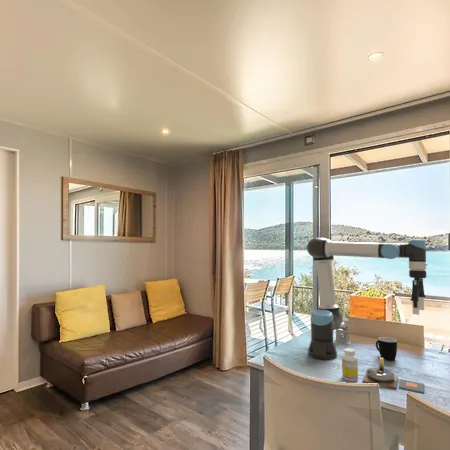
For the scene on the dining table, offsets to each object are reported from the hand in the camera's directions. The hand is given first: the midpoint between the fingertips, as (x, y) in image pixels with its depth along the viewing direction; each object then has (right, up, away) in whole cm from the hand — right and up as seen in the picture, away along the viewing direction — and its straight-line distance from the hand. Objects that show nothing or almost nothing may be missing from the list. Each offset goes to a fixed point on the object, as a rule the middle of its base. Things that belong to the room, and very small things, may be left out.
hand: (418, 312), depth 161 cm
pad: (-18, -25, -25) cm, 39 cm away
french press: (-24, -29, +37) cm, 53 cm away
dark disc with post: (-28, -24, -18) cm, 41 cm away
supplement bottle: (-41, -26, -16) cm, 51 cm away
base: (-28, -26, -18) cm, 42 cm away
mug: (-12, -27, +9) cm, 31 cm away
